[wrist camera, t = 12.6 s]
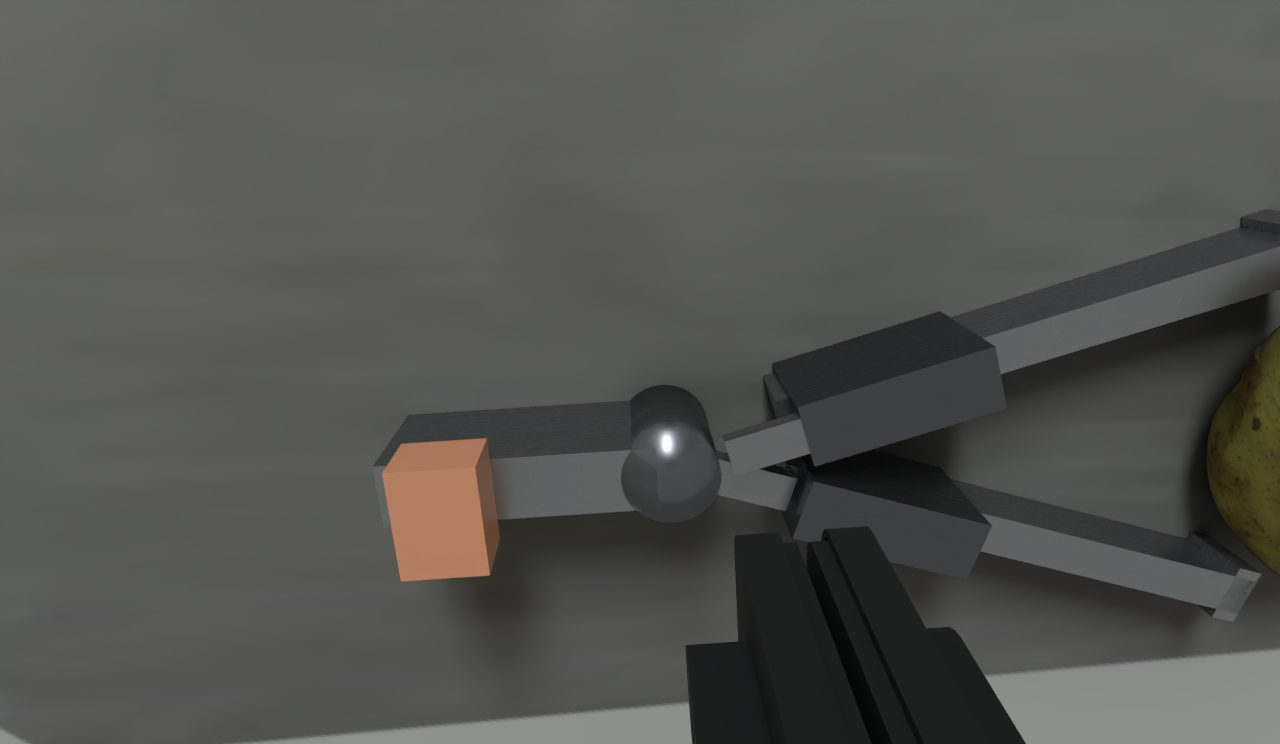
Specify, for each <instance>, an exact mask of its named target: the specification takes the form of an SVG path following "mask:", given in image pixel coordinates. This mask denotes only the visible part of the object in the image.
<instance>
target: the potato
mask: <svg viewBox="0 0 1280 744" xmlns="http://www.w3.org/2000/svg"><path fill="white" fill-rule="evenodd" d="M1243 370H1244V372H1243V375H1242V378H1241V381H1240V382H1239V383H1238V384H1237V385H1236V386H1235V387H1234V388H1233V390H1232V391H1231V392H1230V393H1229V394H1228V395H1227V397H1226V398H1225V399H1224V400H1223V402H1222V403H1221V404H1220V406H1219V407H1218V409H1217V411H1216V413H1215V416H1214V418H1213V421H1212V424H1211V428H1210V431H1209V437H1208V447H1207V473H1208V480H1209V485H1210V490H1211V493H1212V496H1213V499H1214V501H1215V504H1216V507H1217V509H1218V511H1219V513H1220V515H1221V516H1222V518H1223V519H1224V521H1225V522H1226V524H1227V525H1228V526H1229V528H1230V529H1231V530H1232V531H1233V532H1234V533H1235V534H1236V535H1237V537H1238V538H1239V539H1240V541H1241V542H1242V543H1243V544H1244V545H1245V547H1246V548H1247V549H1248V550H1249V551H1250V552H1251V553H1252V554H1253V555H1254V556H1255V557H1256V558H1257V559H1259V560H1260V561H1261V562H1262V563H1263V564H1264V565H1265V566H1267V567H1268V568H1269V569H1270V570H1271V571H1272V572H1274V573H1275V574H1277V575H1279V576H1280V326H1279V327H1278V328H1277V329H1275V330H1274V331H1273V332H1272V333H1271V335H1270V336H1269V337H1268V338H1267V339H1266V340H1265V341H1264V342H1263V343H1262V345H1261V346H1257V348H1256V349H1255V351H1254V353H1253V354H1252V356H1251V357H1250V359H1249V361H1248V363H1247V364H1246V366H1245V367H1244V369H1243Z"/></svg>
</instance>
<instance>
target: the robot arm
mask: <svg viewBox="0 0 1280 744" xmlns="http://www.w3.org/2000/svg"><path fill="white" fill-rule="evenodd" d="M735 572H736V596H737V621H738V642H726V643H711V644H697V645H686V663H687V678H688V693H689V707H690V720H691V733H692V743H693V744H1026V743H1025V742H1024V740H1023V739H1022V737H1021V735H1020V733H1019V732H1018V730H1017V729H1016V727H1015V725H1014V724H1013V722H1012V721H1011V719H1010V717H1009V716H1008V714H1007V712H1006V711H1005V709H1004V707H1003V706H1002V704H1001V702H1000V701H999V699H998V698H997V696H996V694H995V693H994V691H993V689H992V688H991V686H990V685H989V683H988V681H987V679H986V678H985V676H984V675H983V673H982V671H981V670H980V668H979V666H978V665H977V663H976V661H975V660H974V658H973V657H972V655H971V653H970V652H969V650H968V648H967V647H966V645H965V643H964V642H963V640H962V639H961V637H960V636H959V635H958V633H957V632H956V631H955V630H954V629H952V628H950V627H943V628H928V629H926V627H925V626H924V624H923V622H922V620H921V618H920V617H919V615H918V613H917V611H916V609H915V608H914V606H913V604H912V602H911V600H910V599H909V597H908V595H907V593H906V591H905V590H904V588H903V586H902V584H901V582H900V581H899V579H898V577H897V575H896V573H895V572H894V570H893V568H892V566H891V564H890V563H889V561H888V559H887V557H886V555H885V554H884V552H883V550H882V548H881V546H880V545H879V543H878V541H877V539H876V537H875V536H874V534H873V532H872V530H871V529H870V528H869V527H868V526H861V527H847V528H833V529H824V530H823V532H822V537H821V541H812V542H809V543H808V546H807V569H806V566H805V563H804V561H803V558H802V555H801V553H800V550H799V547H798V545H797V543H784V544H783V543H782V540H781V537H780V535H779V533H763V534H749V535H735Z"/></svg>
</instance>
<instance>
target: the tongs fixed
mask: <svg viewBox="0 0 1280 744" xmlns="http://www.w3.org/2000/svg"><path fill="white" fill-rule="evenodd" d="M483 438H487V442H488V450H489V458H490V465H491V473H492V481H493V489H494V496H495V504H496V512H497V519H498V520H502V519H517V518H532V517H547V516H563V515H578V514H593V513H609V512H624V511H637V512H638V513H640V514H641V515H643V516H644V517H646V518H648V519H651V520H653V521H657V522H662V523H678V522H683V521H687V520H689V519H692V518H694V517H696V516H698V515H699V514H701V513H702V512H704V511H705V510H706V509H707V508H708V507H709V506H710V505H711V504H712V503H713V501H714V500H715V498H716V496H717V495H721V496H725V497H729V498H733V499H737V500H741V501H745V502H749V503H753V504H758V505H762V506H766V507H770V508H774V509H778V510H781V512H782V514H783V517H784V519H785V522H786V524H787V527H788V529H789V532H790V534H791V537H792V539H796V540H800V541H804V542H812V541H821V537H822V532H823V530H824V529H833V528H847V527H861V526H868V527H869V528H870V529H871V530H872V532H873V534H874V536H875V537H876V539H877V541H878V543H879V545H880V546H881V548H882V550H883V552H884V554H885V555H886V557H887V559H888V561H889V562H892V563H896V564H901V565H905V566H909V567H913V568H917V569H921V570H926V571H930V572H934V573H938V574H942V575H946V576H951V577H955V578H959V579H963V580H968V577H969V575H970V573H971V571H972V569H973V566H974V564H975V562H976V560H977V558H978V556H979V553H980V551H981V552H985V553H989V554H993V555H997V556H1002V557H1006V558H1010V559H1014V560H1018V561H1022V562H1026V563H1030V564H1034V565H1038V566H1043V567H1047V568H1051V569H1055V570H1059V571H1063V572H1067V573H1071V574H1075V575H1079V576H1084V577H1088V578H1092V579H1096V580H1100V581H1104V582H1108V583H1112V584H1116V585H1120V586H1125V587H1129V588H1133V589H1137V590H1141V591H1145V592H1149V593H1153V594H1157V595H1161V596H1166V597H1170V598H1174V599H1178V600H1182V601H1186V602H1190V603H1194V604H1197V605H1198V606H1200V607H1201V608H1202V609H1203V610H1204V611H1205V612H1207V613H1208V614H1209V615H1210V616H1211V617H1214V618H1218V619H1222V620H1226V621H1230V622H1234V620H1235V618H1236V617H1237V615H1238V614H1239V612H1240V610H1241V608H1242V607H1243V605H1244V603H1245V602H1246V600H1247V598H1248V596H1249V595H1250V593H1251V591H1252V590H1253V588H1254V586H1255V585H1256V583H1257V581H1258V579H1259V577H1260V576H1261V573H1260V572H1258V571H1257V570H1256V569H1254V568H1253V567H1251V566H1250V565H1249V564H1247V563H1246V562H1245V561H1243V560H1242V559H1240V558H1239V557H1238V556H1236V555H1235V554H1234V553H1232V552H1231V551H1229V550H1228V549H1227V548H1225V547H1224V546H1222V545H1221V544H1220V543H1218V542H1217V541H1216V540H1214V539H1213V538H1211V537H1209V536H1205V535H1201V534H1197V533H1194V532H1190V533H1189V535H1188V537H1187V539H1183V538H1179V537H1175V536H1171V535H1167V534H1164V533H1160V532H1156V531H1152V530H1148V529H1144V528H1140V527H1136V526H1132V525H1128V524H1124V523H1120V522H1116V521H1112V520H1108V519H1104V518H1100V517H1096V516H1092V515H1088V514H1085V513H1081V512H1077V511H1073V510H1069V509H1065V508H1061V507H1057V506H1053V505H1049V504H1045V503H1041V502H1037V501H1033V500H1029V499H1025V498H1021V497H1017V496H1013V495H1009V494H1005V493H1002V492H998V491H994V490H990V489H986V488H982V487H978V486H974V485H970V484H966V483H962V482H958V481H954V480H951V479H950V478H949V477H948V476H947V474H946V473H945V472H944V471H943V470H942V469H941V468H938V467H934V466H930V465H926V464H923V463H919V462H915V461H911V460H907V459H903V458H899V457H895V456H891V455H887V454H883V453H879V452H875V451H871V450H868V451H865V452H862V453H858V454H855V455H852V456H848V457H845V458H842V459H838V460H835V461H832V462H829V463H825V464H822V465H819V466H815V467H814V465H813V463H812V461H811V459H810V457H809V456H808V454H807V455H803V456H800V457H797V458H794V459H790V460H787V461H784V462H780V463H777V464H774V465H770V466H767V467H764V468H760V469H757V470H754V471H750V472H747V473H744V474H741V475H737V476H735V474H734V471H733V467H732V464H731V461H730V458H729V455H728V453H724V452H720V451H716V449H715V446H714V442H713V439H712V435H711V432H710V428H709V424H708V421H707V417H706V414H705V411H704V409H703V407H702V405H701V403H700V402H699V401H698V399H697V398H696V397H695V396H694V395H692V394H691V393H690V392H688V391H686V390H684V389H682V388H679V387H676V386H670V385H659V386H654V387H650V388H647V389H645V390H643V391H641V392H640V393H638V394H637V395H636V396H635V397H633V398H632V399H631V401H622V402H607V403H592V404H576V405H561V406H545V407H530V408H515V409H499V410H484V411H468V412H453V413H438V414H422V415H408V416H407V418H406V419H405V421H404V422H403V424H402V425H401V426H400V428H399V429H398V431H397V432H396V434H395V435H394V437H393V438H392V439H391V441H390V442H389V444H388V445H387V447H386V448H385V450H384V451H383V452H382V454H381V455H380V457H379V458H378V460H377V461H376V463H375V464H374V465H373V472H374V477H375V483H376V489H377V494H378V500H379V505H380V511H381V516H382V522H383V527H391V522H390V516H389V511H388V505H387V499H386V494H385V488H384V482H383V477H382V473H383V471H384V470H385V468H386V466H387V465H388V463H389V462H390V460H391V459H392V457H393V456H394V454H395V453H396V451H397V450H398V448H399V447H400V445H401V444H407V443H422V442H437V441H453V440H468V439H483Z"/></svg>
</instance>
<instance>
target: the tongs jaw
mask: <svg viewBox="0 0 1280 744" xmlns="http://www.w3.org/2000/svg"><path fill="white" fill-rule="evenodd" d="M1241 219H1242V228H1239V229H1235V230H1232V231H1229V232H1226V233H1222V234H1219V235H1216V236H1213V237H1210V238H1206V239H1203V240H1200V241H1197V242H1193V243H1190V244H1187V245H1184V246H1181V247H1177V248H1174V249H1171V250H1168V251H1165V252H1161V253H1158V254H1155V255H1152V256H1148V257H1145V258H1142V259H1139V260H1136V261H1132V262H1129V263H1126V264H1123V265H1119V266H1116V267H1113V268H1110V269H1107V270H1103V271H1100V272H1097V273H1094V274H1091V275H1087V276H1084V277H1081V278H1078V279H1074V280H1071V281H1068V282H1065V283H1062V284H1058V285H1055V286H1052V287H1049V288H1045V289H1042V290H1039V291H1036V292H1033V293H1029V294H1026V295H1023V296H1020V297H1016V298H1013V299H1010V300H1007V301H1004V302H1000V303H997V304H994V305H991V306H988V307H984V308H981V309H978V310H975V311H971V312H968V313H965V314H962V315H959V316H955V317H952V318H950V317H948V316H947V315H945V314H943V313H942V312H937V313H934V314H930V315H927V316H924V317H921V318H918V319H914V320H911V321H908V322H905V323H901V324H898V325H895V326H892V327H889V328H885V329H882V330H879V331H876V332H873V333H869V334H866V335H863V336H860V337H857V338H853V339H850V340H847V341H844V342H841V343H837V344H834V345H831V346H828V347H824V348H821V349H818V350H815V351H812V352H808V353H805V354H802V355H799V356H796V357H792V358H789V359H786V360H783V361H780V362H776V363H773V364H772V365H773V369H774V372H775V373H772V374H769V375H766V376H763V378H764V382H765V385H766V389H767V392H768V396H769V399H770V403H771V406H772V409H773V412H774V414H775V416H776V418H777V419H775V420H771V421H768V422H765V423H762V424H758V425H755V426H752V427H748V428H745V429H742V430H739V431H735V432H732V433H729V434H726V435H722V436H723V439H724V442H725V445H726V448H727V452H728V455H729V458H730V461H731V464H732V467H733V471H734V474H735V476H737V475H741V474H744V473H747V472H750V471H754V470H757V469H760V468H764V467H767V466H770V465H774V464H777V463H780V462H784V461H787V460H790V459H794V458H797V457H800V456H803V455H807V454H808V456H809V457H810V459H811V461H812V463H813V465H814V467H815V466H819V465H822V464H825V463H829V462H832V461H835V460H838V459H842V458H845V457H848V456H852V455H855V454H858V453H862V452H865V451H868V450H872V449H875V448H878V447H882V446H885V445H888V444H892V443H895V442H898V441H902V440H905V439H908V438H912V437H915V436H918V435H922V434H925V433H928V432H932V431H935V430H938V429H942V428H945V427H948V426H952V425H955V424H958V423H962V422H965V421H968V420H972V419H975V418H978V417H982V416H985V415H988V414H992V413H995V412H998V411H1002V410H1005V409H1007V404H1006V399H1005V394H1004V388H1003V383H1002V378H1001V374H1003V373H1006V372H1010V371H1013V370H1016V369H1020V368H1023V367H1026V366H1029V365H1033V364H1036V363H1039V362H1043V361H1046V360H1049V359H1052V358H1056V357H1059V356H1062V355H1066V354H1069V353H1072V352H1076V351H1079V350H1082V349H1085V348H1089V347H1092V346H1095V345H1099V344H1102V343H1105V342H1108V341H1112V340H1115V339H1118V338H1122V337H1125V336H1128V335H1131V334H1135V333H1138V332H1141V331H1145V330H1148V329H1151V328H1154V327H1158V326H1161V325H1164V324H1168V323H1171V322H1174V321H1177V320H1181V319H1184V318H1187V317H1191V316H1194V315H1197V314H1201V313H1204V312H1207V311H1210V310H1214V309H1217V308H1220V307H1224V306H1227V305H1230V304H1233V303H1237V302H1240V301H1243V300H1247V299H1250V298H1253V297H1256V296H1260V295H1263V294H1266V293H1270V292H1273V291H1276V290H1279V289H1280V211H1274V210H1264V211H1261V212H1258V213H1254V214H1251V215H1248V216H1245V217H1242V218H1241Z"/></svg>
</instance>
